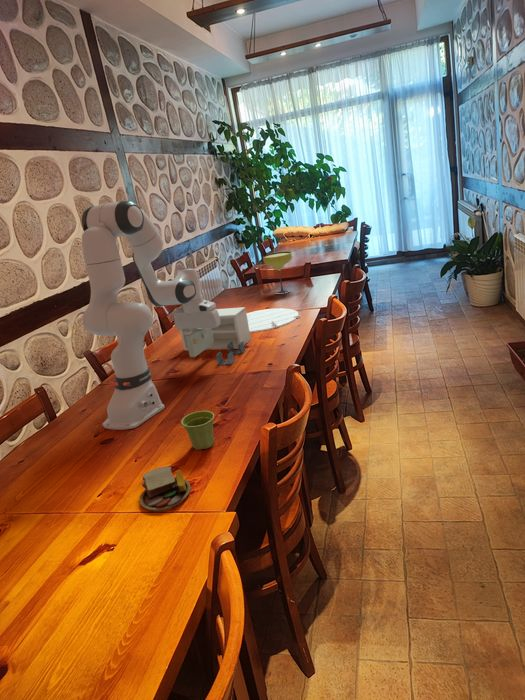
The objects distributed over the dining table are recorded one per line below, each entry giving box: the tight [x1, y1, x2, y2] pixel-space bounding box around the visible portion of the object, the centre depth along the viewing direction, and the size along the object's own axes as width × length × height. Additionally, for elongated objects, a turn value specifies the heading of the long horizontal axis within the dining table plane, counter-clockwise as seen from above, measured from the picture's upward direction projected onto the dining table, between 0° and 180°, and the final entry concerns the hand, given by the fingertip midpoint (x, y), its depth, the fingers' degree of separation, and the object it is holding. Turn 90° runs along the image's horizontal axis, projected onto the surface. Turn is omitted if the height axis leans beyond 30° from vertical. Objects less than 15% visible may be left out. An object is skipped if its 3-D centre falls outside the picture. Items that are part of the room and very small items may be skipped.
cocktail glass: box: [262, 251, 293, 293], centre depth 302 cm, size 18×18×25 cm
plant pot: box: [180, 410, 215, 451], centre depth 135 cm, size 9×9×9 cm
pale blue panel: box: [186, 328, 214, 358], centre depth 198 cm, size 18×4×9 cm, turn 159°
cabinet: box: [179, 306, 252, 351], centre depth 221 cm, size 12×30×16 cm, turn 69°
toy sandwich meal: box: [139, 466, 191, 512], centre depth 115 cm, size 12×14×5 cm
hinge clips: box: [215, 342, 246, 366], centre depth 202 cm, size 16×6×4 cm, turn 159°
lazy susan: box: [246, 307, 301, 333], centre depth 251 cm, size 40×39×3 cm
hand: (200, 337), depth 198 cm, fingers closed on pale blue panel, 2 cm apart
